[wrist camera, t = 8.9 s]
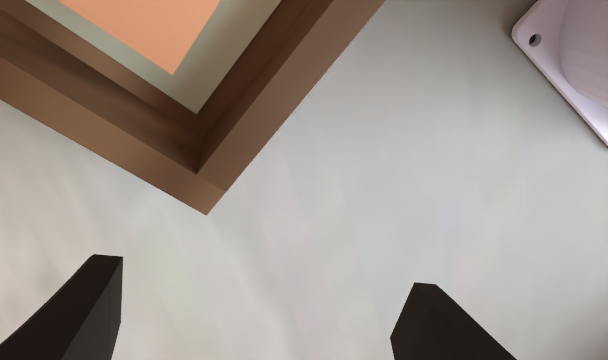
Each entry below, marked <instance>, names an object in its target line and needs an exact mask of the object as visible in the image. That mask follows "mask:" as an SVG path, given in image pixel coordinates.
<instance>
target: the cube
mask: <svg viewBox="0 0 608 360" xmlns="http://www.w3.org/2000/svg"><path fill="white" fill-rule="evenodd" d="M58 1H59V2H61V3H62V4H64V5H65V6H67V7H69V8H70V9H72V10H73V11H75V12H76V13H78V14H79V15H81V16H82V17H84V18H86V19H87V20H89V21H90V22H92V23H93V24H95V25H96V26H98V27H99V28H101V29H102V30H104V31H106V32H107V33H109V34H110V35H112V36H113V37H115V38H116V39H118V40H119V41H121V42H123V43H124V44H126V45H127V46H129V47H130V48H132V49H133V50H135V51H136V52H138V53H139V54H141V55H143V56H144V57H146V58H147V59H149V60H150V61H152V62H153V63H155V64H156V65H158V66H159V67H161V68H163V69H164V70H166V71H167V72H169V73H170V74H172V75H173V73H174V72H175V70H176V69H177V67H178V66H179V64H180V63H181V61H182V60H183V58H184V56H185V55H186V53H187V52H188V50H189V49H190V47H191V46H192V44H193V42H194V41H195V39H196V38H197V36H198V35H199V33H200V32H201V30H202V28H203V27H204V25H205V24H206V22H207V21H208V19H209V18H210V16H211V14H212V13H213V11H214V10H215V8H216V7H217V5H218V4H219V2H220V0H58Z"/></svg>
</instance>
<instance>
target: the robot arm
mask: <svg viewBox="0 0 608 360" xmlns="http://www.w3.org/2000/svg"><path fill="white" fill-rule="evenodd" d="M534 34H535V35H536V38H535V41H534V42H533V43H532V44H530V45H529V39H530V38H531V36H532V35H534ZM512 38H513V40H514V41H515V43H516V44H517V45H518V46H519V47H520V48H521V49H522V50H523V52H524V53H525V54H526V55H527V56H528V57H529V58H530V59H531V61H532V62H533V63H534V64H535V65H536V66H537V67H538V68H539V70H540V71H541V72H542V73H543V74H544V75H545V76H546V77H547V79H548V80H549V81H550V82H551V83H552V84H553V85H554V86H555V88H556V89H557V90H558V91H559V92H560V93H561V94H562V95H563V97H564V98H565V99H566V100H567V101H568V102H569V103H570V104H571V106H572V107H573V108H574V109H575V110H576V111H577V112H578V113H579V115H580V116H581V117H582V118H583V119H584V120H585V121H586V122H587V124H588V125H589V126H590V127H591V128H592V129H593V130H594V131H595V133H596V134H597V135H598V136H599V137H600V138H601V139H602V140H603V142H604V143H605V144H606V145H607V146H608V0H538V1H537V2H536V3H535V4H534V5H533V6H532V7H531V8H530V9H529V10H528V11H527V12H526V13H525V14H524V15H523V16H522V17H521V18H520V19H519V21H518V22H517V23H516V24H515V25H514V27H513V30H512ZM122 271H123V257H120V256H108V255H97V254H94V255H92V256H91V257H89V258H88V259H87V260H86V262H85V263H84V264H83V265H82V266H81V267H80V268H79V269H78V270H77V271H76V272H75V274H74V275H73V276H72V277H71V278H70V279H69V280H68V281H67V282H66V283H65V284H64V285H63V286H62V287H61V288H60V289H59V290H58V291H57V292H56V293H55V294H54V295H53V296H52V297H51V298H50V299H49V300H48V301H47V302H46V303H45V304H44V305H43V306H42V307H41V308H40V309H39V310H38V311H36V312H35V313H34V314H33V315H32V316H31V317H30V318H29V319H28V320H27V321H26V322H25V323H24V324H23V325H22V326H21V327H19V328H18V329H17V330H16V331H15V332H14V333H13V334H11V335H10V336H9V337H8V338H7V339H6V340H5V341H3V342H2V343H1V344H0V360H111V358H112V354H113V350H114V347H115V343H116V339H117V335H118V331H119V327H120V323H121V299H122ZM390 339H391V344H392V349H393V354H394V359H395V360H517V359H516V358H514V357H513V356H512V355H511V354H510V353H509V352H508V351H507V350H506V349H505V348H503V347H502V346H501V345H500V344H499V343H498V342H497V341H496V340H495V339H494V338H493V337H492V336H491V335H489V334H488V333H487V332H486V331H485V330H484V329H483V328H482V327H481V326H480V325H479V324H478V323H477V322H476V321H475V320H474V319H473V318H472V317H471V316H470V315H469V314H467V313H466V312H465V311H464V310H463V309H462V308H461V307H460V306H459V305H458V304H457V303H456V302H455V301H454V300H453V299H452V298H451V297H449V296H448V295H447V294H446V293H445V292H444V291H443V290H442V289H440V288H439V287H438V286H437V285H436V284H426V283H415V282H414V285H413V287H412V289H411V291H410V294H409V296H408V298H407V300H406V303H405V305H404V307H403V309H402V312H401V314H400V316H399V319H398V321H397V323H396V325H395V328H394V330H393V332H392V334H391V337H390Z"/></svg>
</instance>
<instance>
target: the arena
mask: <svg viewBox="0 0 608 360" xmlns="http://www.w3.org/2000/svg"><path fill="white" fill-rule="evenodd" d="M384 1H385V0H220V2H219V4H218V5H217V7H216V8H215V10H214V11H213V13H212V14H211V16H210V18H209V19H208V21H207V22H206V24H205V25H204V27H203V28H202V30H201V32H200V33H199V35H198V36H197V38H196V39H195V41H194V42H193V44H192V46H191V47H190V49H189V50H188V52H187V53H186V55H185V56H184V58H183V60H182V61H181V63H180V64H179V66H178V67H177V69H176V70H175V72H174V73H173V75H172V74H170V73H169V72H167V71H166V70H164V69H163V68H161V67H159V66H158V65H156V64H155V63H153V62H152V61H150V60H149V59H147V58H146V57H144V56H143V55H141V54H139V53H138V52H136V51H135V50H133V49H132V48H130V47H129V46H127V45H126V44H124V43H123V42H121V41H119V40H118V39H116V38H115V37H113V36H112V35H110V34H109V33H107V32H106V31H104V30H102V29H101V28H99V27H98V26H96V25H95V24H93V23H92V22H90V21H89V20H87V19H86V18H84V17H82V16H81V15H79V14H78V13H76V12H75V11H73V10H72V9H70V8H69V7H67V6H65V5H64V4H62V3H61V2H59V1H58V0H0V100H2V101H4V102H6V103H8V104H9V105H11V106H13V107H15V108H16V109H18V110H20V111H22V112H24V113H25V114H27V115H29V116H31V117H32V118H34V119H36V120H38V121H39V122H41V123H43V124H45V125H47V126H48V127H50V128H52V129H54V130H55V131H57V132H59V133H61V134H63V135H64V136H66V137H68V138H70V139H71V140H73V141H75V142H77V143H79V144H80V145H82V146H84V147H86V148H87V149H89V150H91V151H93V152H94V153H96V154H98V155H100V156H102V157H103V158H105V159H107V160H109V161H110V162H112V163H114V164H116V165H118V166H119V167H121V168H123V169H125V170H126V171H128V172H130V173H132V174H134V175H135V176H137V177H139V178H141V179H142V180H144V181H146V182H148V183H149V184H151V185H153V186H155V187H157V188H158V189H160V190H162V191H164V192H165V193H167V194H169V195H171V196H173V197H174V198H176V199H178V200H180V201H181V202H183V203H185V204H187V205H189V206H190V207H192V208H194V209H196V210H197V211H199V212H201V213H203V214H204V215H207V214H208V213H209V212H210V211H211V209H212V208H213V207H214V206H215V205H216V203H217V202H218V201H219V200H220V199H221V197H222V196H223V195H224V194H225V193H226V191H227V190H228V189H229V188H230V187H231V185H232V184H233V183H234V182H235V181H236V179H237V178H238V177H239V176H240V175H241V173H242V172H243V171H244V170H245V168H246V167H247V166H248V165H249V164H250V162H251V161H252V160H253V159H254V158H255V156H256V155H257V154H258V153H259V152H260V150H261V149H262V148H263V147H264V146H265V144H266V143H267V142H268V141H269V140H270V138H271V137H272V136H273V135H274V134H275V132H276V131H277V130H278V129H279V128H280V126H281V125H282V124H283V123H284V122H285V120H286V119H287V118H288V117H289V116H290V114H291V113H292V112H293V111H294V110H295V108H296V107H297V106H298V105H299V104H300V102H301V101H302V100H303V99H304V98H305V96H306V95H307V94H308V93H309V92H310V90H311V89H312V88H313V87H314V85H315V84H316V83H317V82H318V81H319V79H320V78H321V77H322V76H323V75H324V73H325V72H326V71H327V70H328V69H329V67H330V66H331V65H332V64H333V63H334V61H335V60H336V59H337V58H338V57H339V55H340V54H341V53H342V52H343V51H344V49H345V48H346V47H347V46H348V45H349V43H350V42H351V41H352V40H353V39H354V37H355V36H356V35H357V34H358V33H359V31H360V30H361V29H362V28H363V27H364V25H365V24H366V23H367V22H368V21H369V19H370V18H371V17H372V16H373V15H374V13H375V12H376V11H377V10H378V9H379V7H380V6H381V5H382V4H383V2H384Z"/></svg>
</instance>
